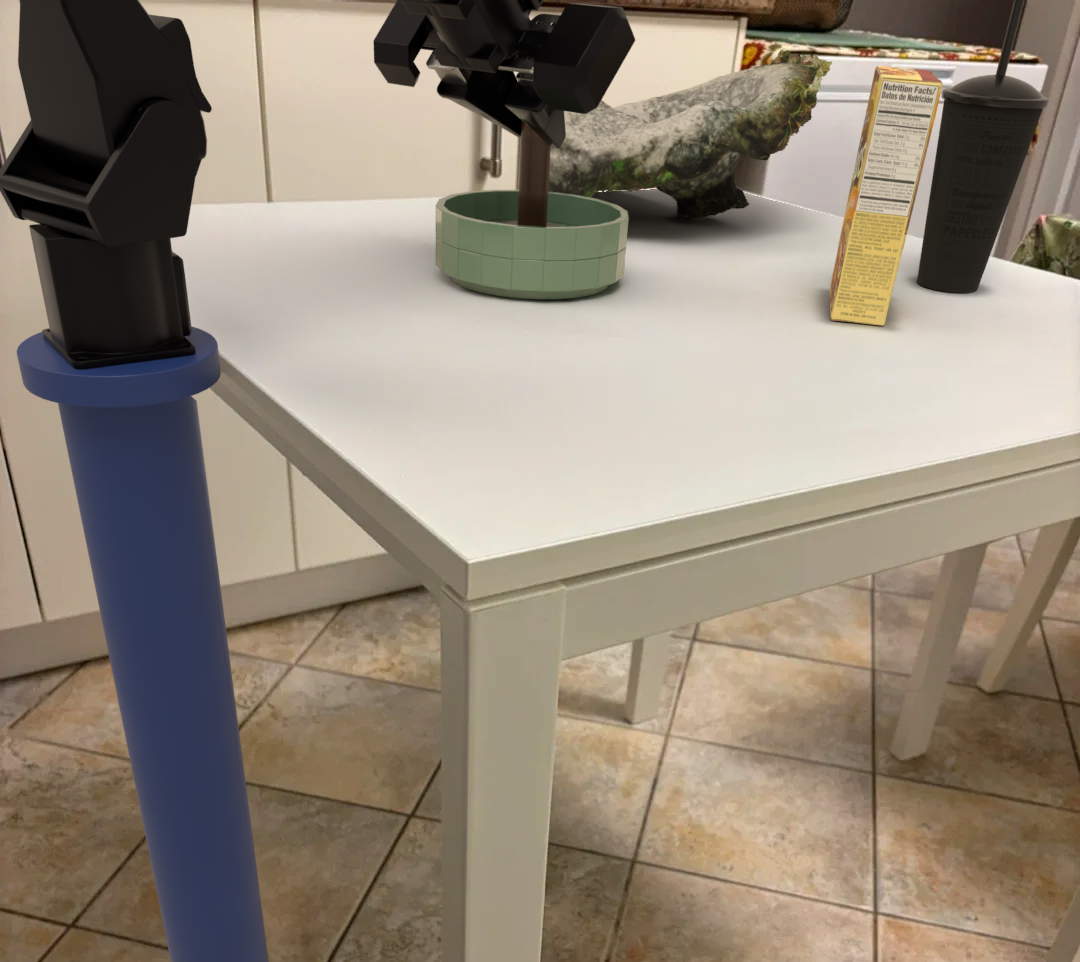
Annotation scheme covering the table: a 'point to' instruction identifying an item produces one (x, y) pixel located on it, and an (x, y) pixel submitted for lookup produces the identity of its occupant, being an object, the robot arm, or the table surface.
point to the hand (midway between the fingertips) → (547, 140)
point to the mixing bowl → (530, 245)
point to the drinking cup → (976, 170)
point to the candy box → (883, 192)
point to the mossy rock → (689, 136)
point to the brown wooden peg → (533, 179)
